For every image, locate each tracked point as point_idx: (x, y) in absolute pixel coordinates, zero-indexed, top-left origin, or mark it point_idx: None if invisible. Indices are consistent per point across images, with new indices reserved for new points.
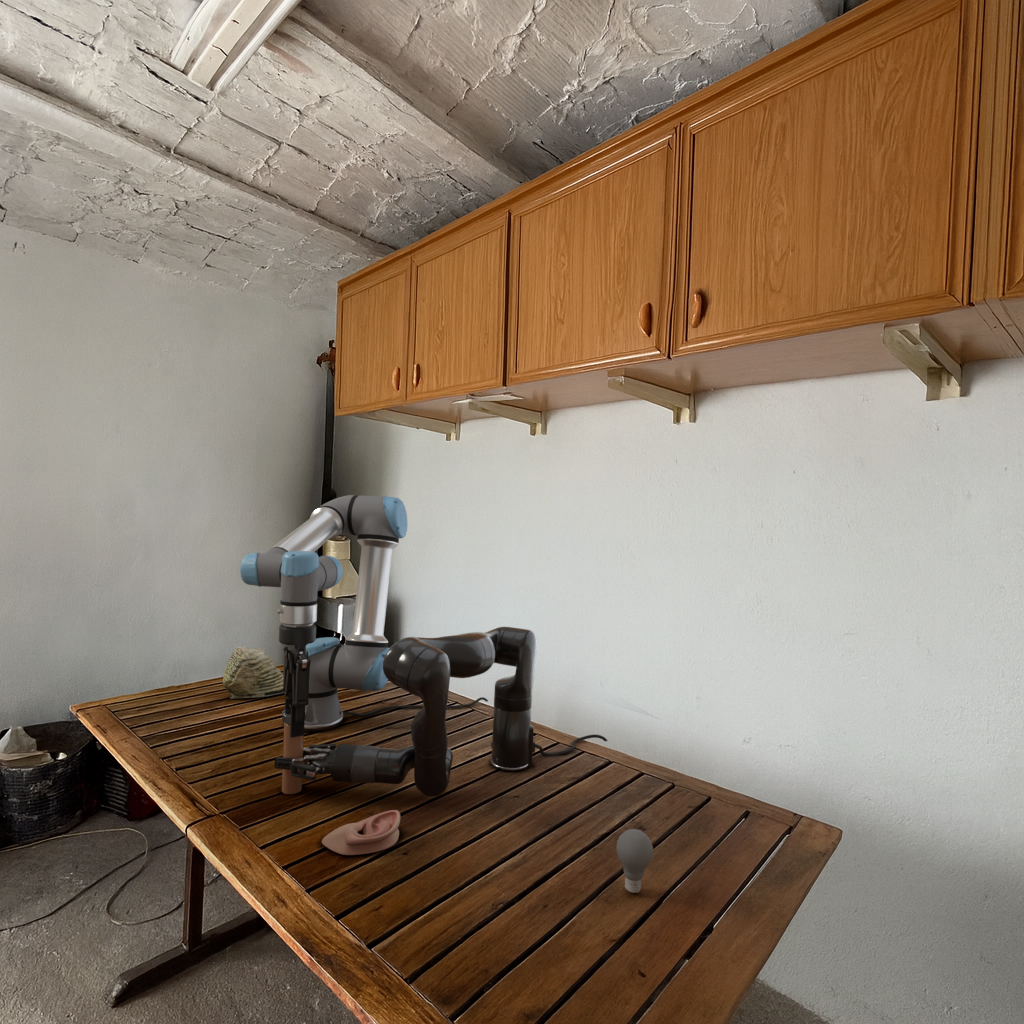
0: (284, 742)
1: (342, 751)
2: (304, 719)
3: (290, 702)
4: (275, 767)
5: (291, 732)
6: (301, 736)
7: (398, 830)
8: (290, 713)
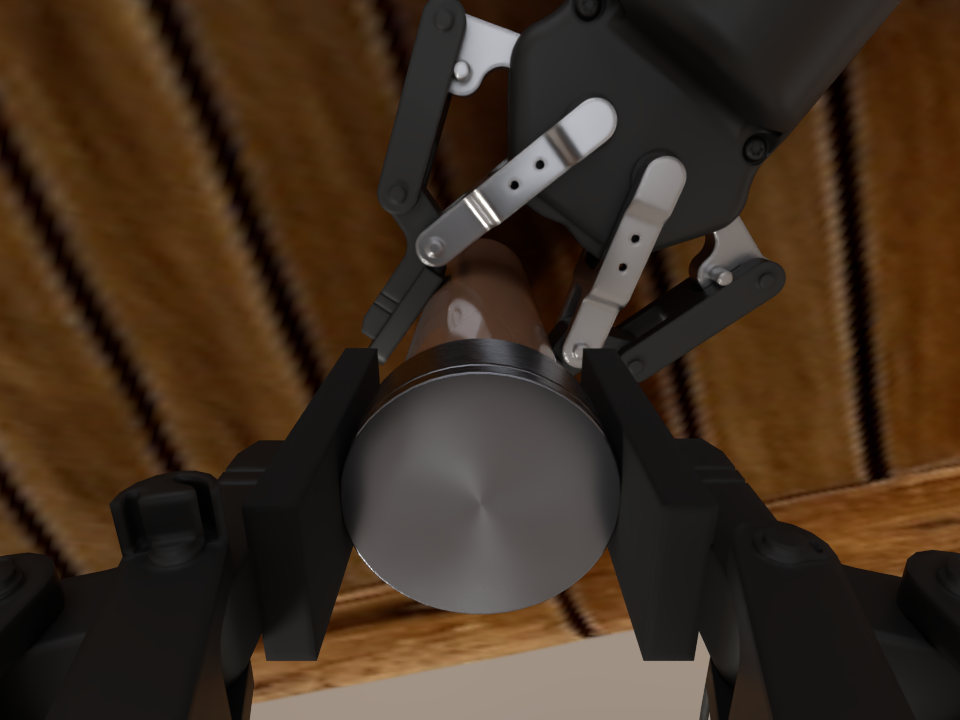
0: None
1: (819, 45)
2: (654, 411)
3: (328, 567)
4: None
5: None
6: (547, 344)
7: None
8: (544, 557)
